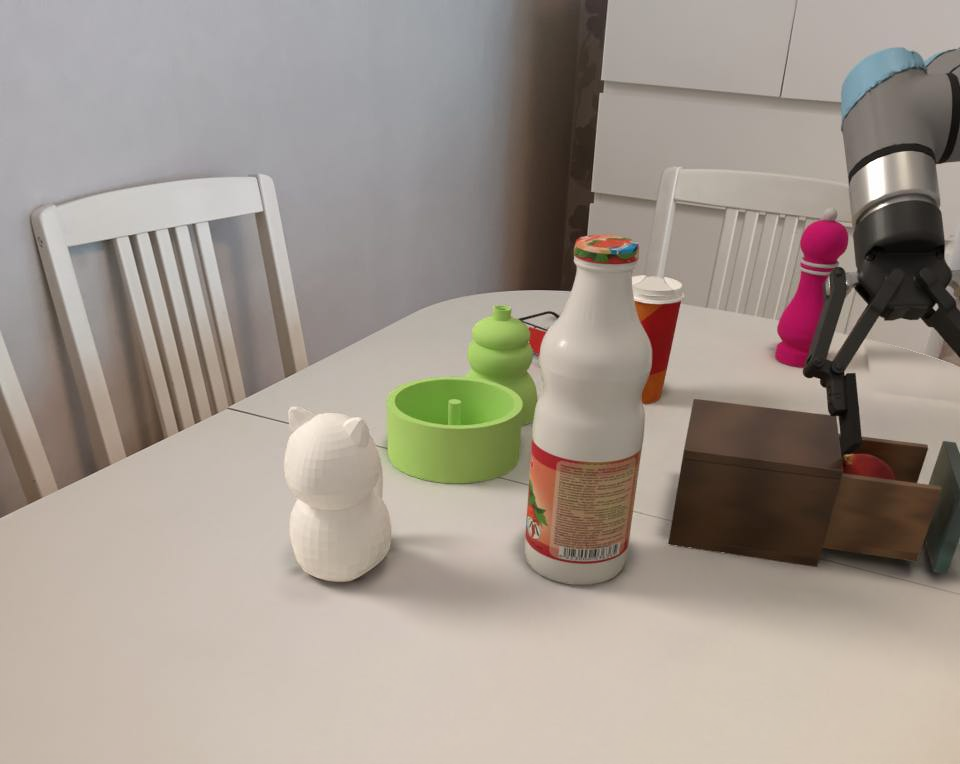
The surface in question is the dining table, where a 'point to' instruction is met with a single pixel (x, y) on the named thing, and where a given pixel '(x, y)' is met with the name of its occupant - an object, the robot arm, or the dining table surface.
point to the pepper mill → (810, 287)
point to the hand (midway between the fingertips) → (920, 447)
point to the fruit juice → (589, 421)
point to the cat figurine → (335, 496)
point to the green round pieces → (467, 409)
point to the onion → (866, 466)
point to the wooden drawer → (900, 505)
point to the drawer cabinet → (757, 482)
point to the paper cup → (657, 325)
